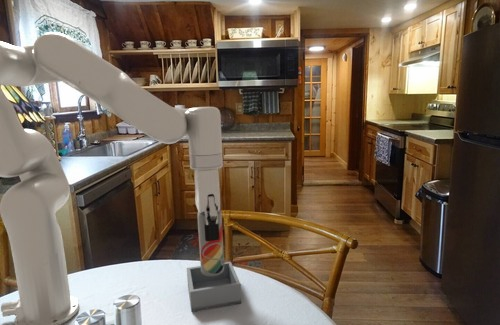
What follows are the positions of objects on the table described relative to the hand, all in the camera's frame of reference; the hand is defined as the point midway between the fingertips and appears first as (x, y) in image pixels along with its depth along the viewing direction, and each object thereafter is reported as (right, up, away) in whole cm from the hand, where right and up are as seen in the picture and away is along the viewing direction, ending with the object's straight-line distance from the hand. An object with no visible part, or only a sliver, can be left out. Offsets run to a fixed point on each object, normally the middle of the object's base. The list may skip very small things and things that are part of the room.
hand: (210, 234), depth 80 cm
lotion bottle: (0, -10, +2) cm, 10 cm away
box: (0, -15, +3) cm, 16 cm away
